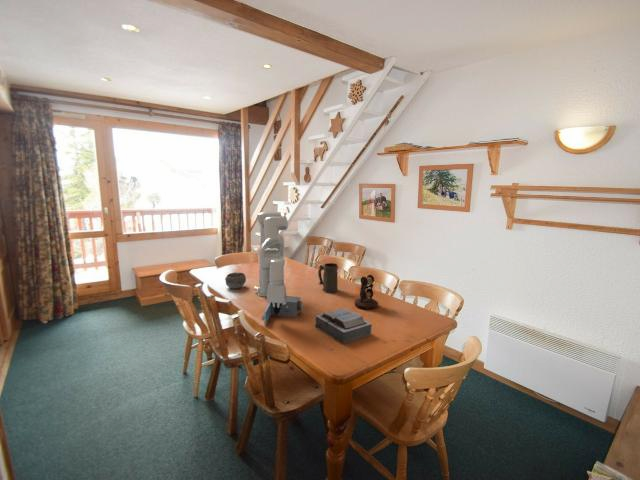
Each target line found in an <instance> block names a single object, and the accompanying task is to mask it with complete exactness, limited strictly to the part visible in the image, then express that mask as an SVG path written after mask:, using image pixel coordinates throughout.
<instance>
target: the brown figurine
mask: <svg viewBox="0 0 640 480" xmlns="http://www.w3.org/2000/svg"><path fill="white" fill-rule="evenodd" d="M374 282H375V277H374V276H373V275H372V274H369V275H367V276H361V278H360V284H361V285H360V290H359V297H358V298H356V299H354V306H357V307H359V308H364V309H366V310H369V309H372V308H376V307H377V306H378V305H379V302H378V301H377V300H375V299H374V298H373V296H374V291H373V288H374Z"/></svg>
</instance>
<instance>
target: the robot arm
mask: <svg viewBox="0 0 640 480" xmlns="http://www.w3.org/2000/svg"><path fill="white" fill-rule="evenodd" d="M256 219H257V223H258V226H259V229H260V230H259V231H260V234H259V235H260V236H259V238H260V240H259V242H260V243H259V244H260V248H259V249H258V252H257V257H258V258H257V259H258V269H259V276H258V277H259V286H254V287H253V290H254V291H257V293H256V294H257V295H258V296H259V297H266V302H267V303H268V304H269V303H271V304H272V305H273V307H274V312H275V314H278V313H279V312H280V306H281V305H284V304H286V296H287V289H286V284H285V265H286V264H285V263H286V261H285V258H284V255H285V237H284V235H282V234H280V232H279V231H287V230H288V227H289V222H288V221H289V220H288V218H287V215H285V213H284V212H282V211H281V212H280V211H278V212H276V211H271V212H270V211H262V212H258V213H257V215H256ZM276 303H278V304H276Z"/></svg>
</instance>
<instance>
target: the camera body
mask: <svg viewBox="0 0 640 480" xmlns="http://www.w3.org/2000/svg"><path fill="white" fill-rule="evenodd" d="M276 304H278V303H276ZM303 306H304V303H303V301H302V300H301V296H295V295H293V296H292V295H291V296H290V295H286V304H284V305H281V306H280V312H279V313H278V314H275V312H274V307H273V305H272V304H271V315H270V316H272V315H273V316H279V317H280V316H281V317H290V318H297V317H298V315H299V313H300V312H301V311H302V310H303V308H304V307H303Z"/></svg>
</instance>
